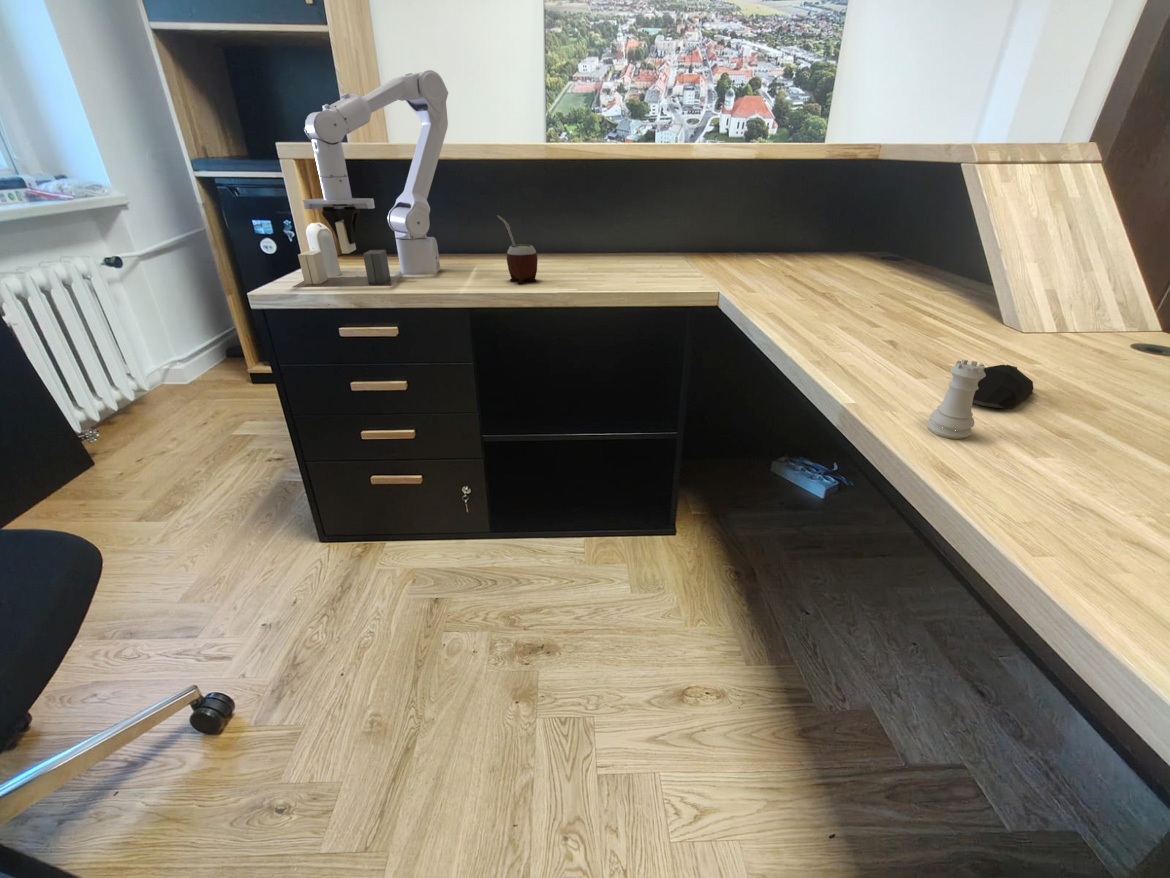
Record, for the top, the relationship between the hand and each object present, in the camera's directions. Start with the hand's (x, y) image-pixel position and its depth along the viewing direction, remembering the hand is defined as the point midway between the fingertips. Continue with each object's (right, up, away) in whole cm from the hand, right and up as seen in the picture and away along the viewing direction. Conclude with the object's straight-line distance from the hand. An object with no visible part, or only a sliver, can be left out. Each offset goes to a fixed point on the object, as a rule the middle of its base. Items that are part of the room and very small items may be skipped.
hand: (347, 243), depth 125 cm
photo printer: (-10, -3, +13) cm, 17 cm away
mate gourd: (+39, -7, +6) cm, 40 cm away
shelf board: (-1, -8, +4) cm, 9 cm away
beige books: (-9, -8, +4) cm, 12 cm away
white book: (0, -1, +1) cm, 2 cm away
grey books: (+6, -7, +4) cm, 10 cm away
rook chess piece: (+94, -43, -62) cm, 121 cm away
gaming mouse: (+107, -38, -53) cm, 125 cm away
